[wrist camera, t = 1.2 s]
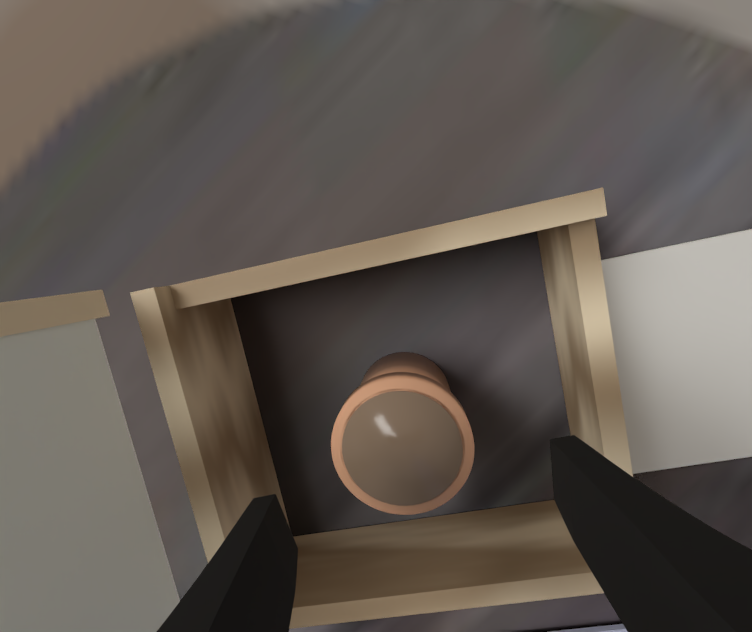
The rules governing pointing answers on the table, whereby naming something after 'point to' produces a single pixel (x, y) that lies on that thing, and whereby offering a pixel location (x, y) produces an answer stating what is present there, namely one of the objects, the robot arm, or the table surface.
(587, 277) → the cold frame
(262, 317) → the table surface
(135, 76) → the table surface
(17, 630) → the lid
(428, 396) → the terracotta flower pot
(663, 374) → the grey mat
